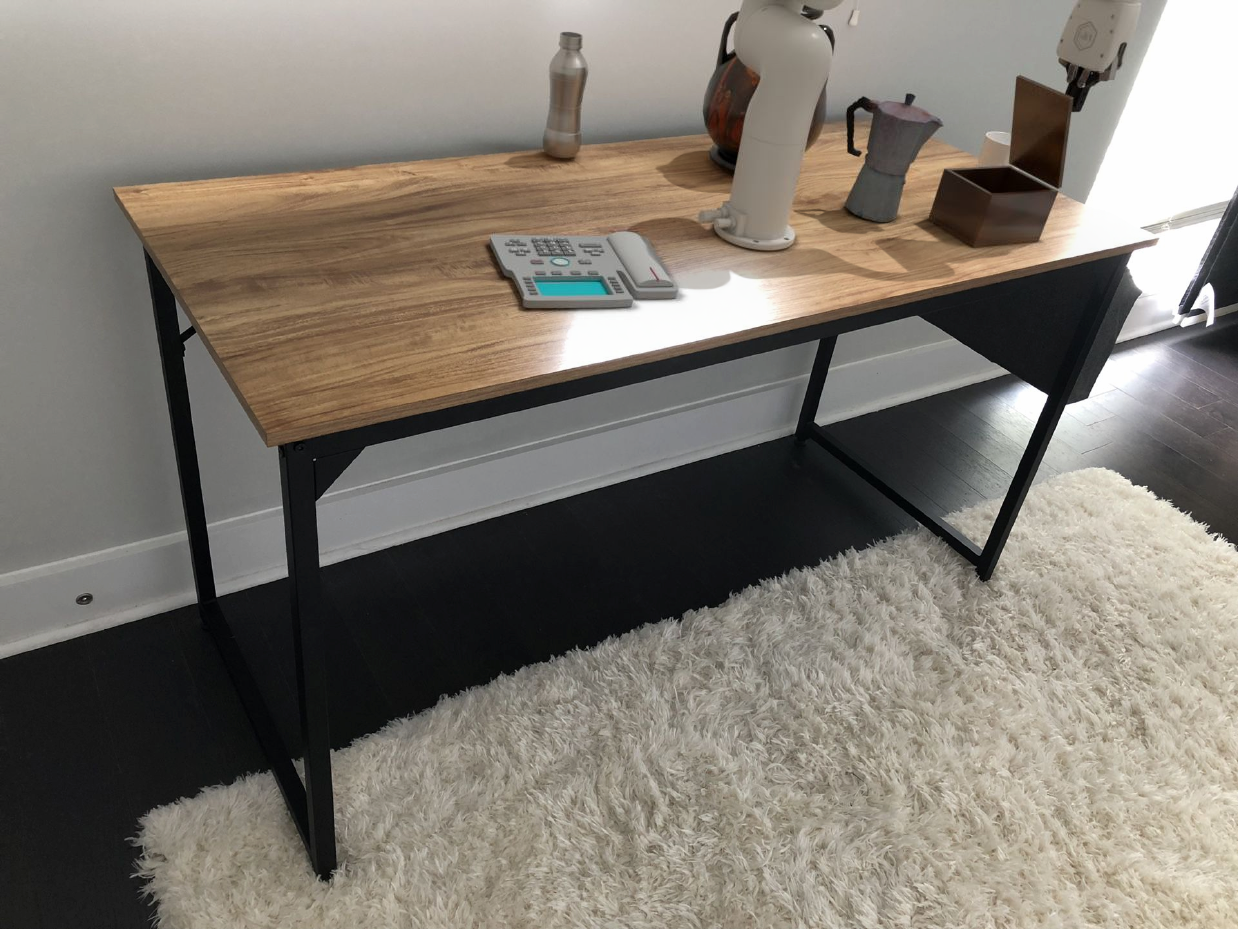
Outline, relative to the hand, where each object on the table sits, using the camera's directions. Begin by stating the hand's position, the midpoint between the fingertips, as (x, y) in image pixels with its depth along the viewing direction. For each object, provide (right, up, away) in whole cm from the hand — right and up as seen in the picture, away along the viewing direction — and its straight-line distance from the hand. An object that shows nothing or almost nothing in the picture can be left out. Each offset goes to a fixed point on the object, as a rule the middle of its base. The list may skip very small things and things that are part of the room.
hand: (1069, 110), depth 158 cm
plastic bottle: (-83, -4, +12) cm, 84 cm away
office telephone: (-78, -31, -24) cm, 87 cm away
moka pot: (-31, -15, +8) cm, 35 cm away
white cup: (-4, -7, +24) cm, 26 cm away
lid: (-5, -4, 0) cm, 6 cm away
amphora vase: (-49, -3, +20) cm, 53 cm away
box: (-11, -17, +8) cm, 22 cm away
